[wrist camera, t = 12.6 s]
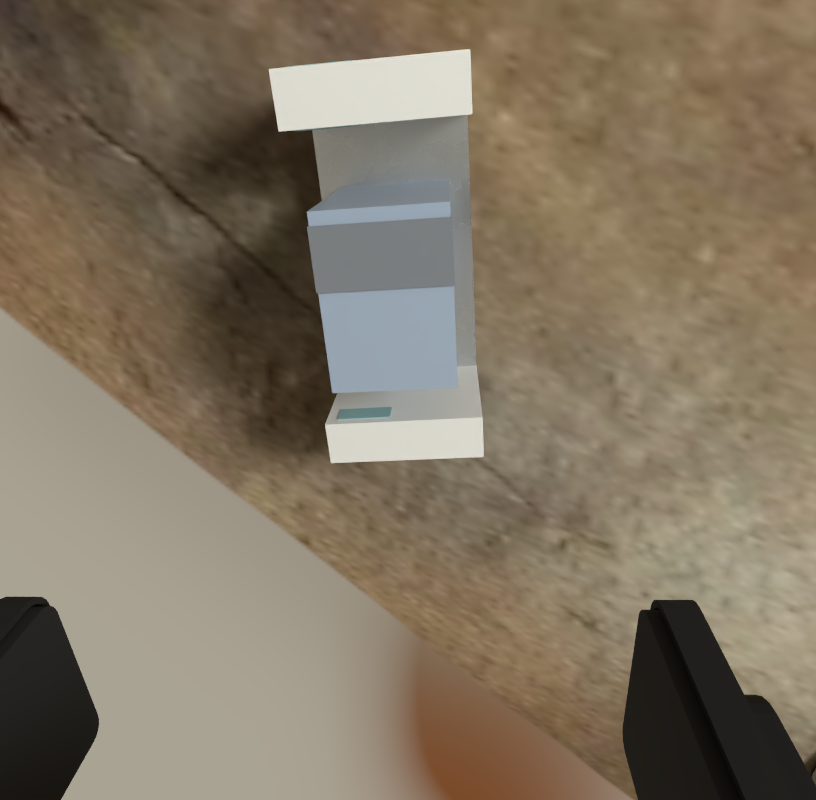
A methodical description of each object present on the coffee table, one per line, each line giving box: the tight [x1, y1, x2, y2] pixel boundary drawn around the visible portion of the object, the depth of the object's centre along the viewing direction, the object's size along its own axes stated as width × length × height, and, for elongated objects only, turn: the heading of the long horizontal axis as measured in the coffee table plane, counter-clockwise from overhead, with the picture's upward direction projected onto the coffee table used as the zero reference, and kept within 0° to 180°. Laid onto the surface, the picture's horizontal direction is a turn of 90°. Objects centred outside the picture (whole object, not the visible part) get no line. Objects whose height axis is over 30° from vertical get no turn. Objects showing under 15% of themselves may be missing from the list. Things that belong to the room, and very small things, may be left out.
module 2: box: [307, 179, 458, 393], centre depth 26 cm, size 7×5×8 cm
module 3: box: [325, 366, 484, 463], centre depth 30 cm, size 2×7×6 cm, turn 95°
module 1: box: [269, 49, 472, 132], centre depth 24 cm, size 2×7×6 cm, turn 95°
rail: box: [312, 115, 476, 367], centre depth 30 cm, size 16×7×2 cm, turn 5°
